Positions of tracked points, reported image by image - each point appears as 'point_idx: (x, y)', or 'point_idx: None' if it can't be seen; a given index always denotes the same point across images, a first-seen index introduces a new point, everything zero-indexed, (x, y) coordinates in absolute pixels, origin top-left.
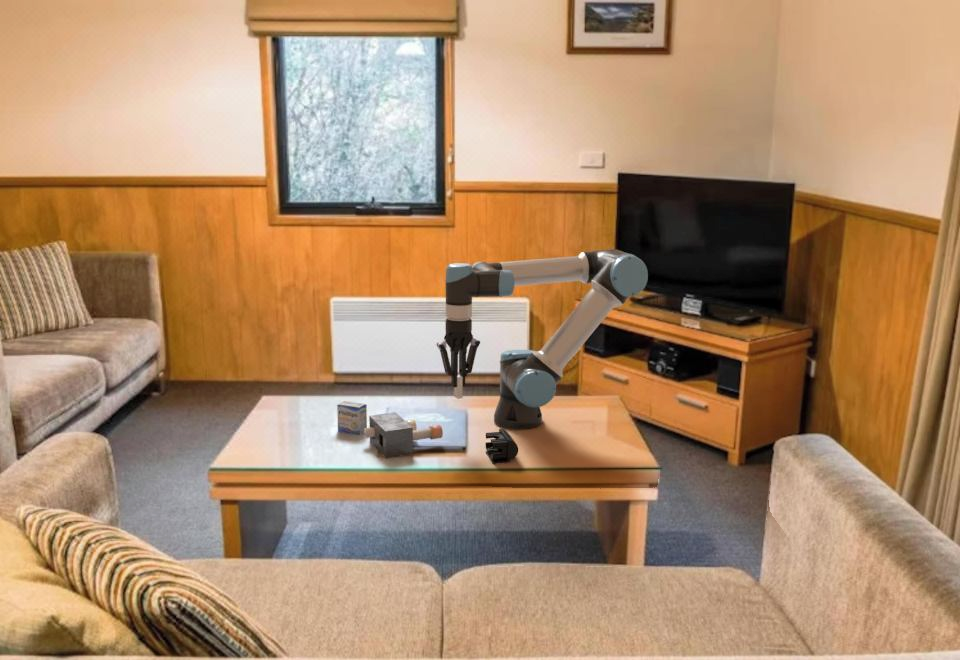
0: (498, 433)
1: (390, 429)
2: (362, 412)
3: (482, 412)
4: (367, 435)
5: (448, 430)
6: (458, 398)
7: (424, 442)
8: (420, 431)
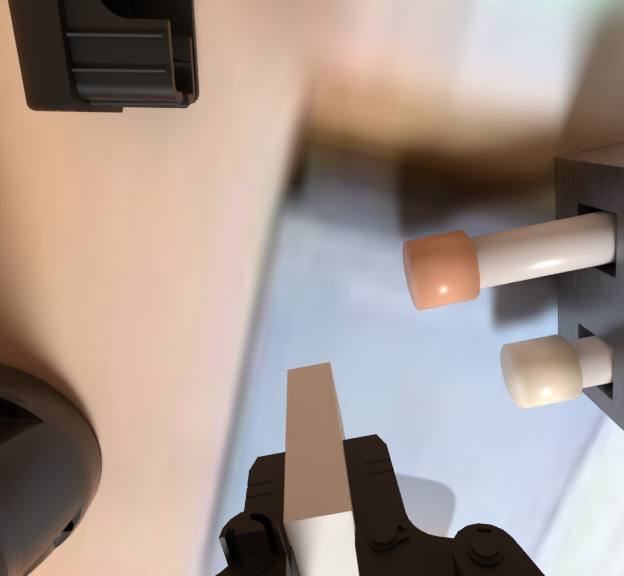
0: (89, 52)
1: None
2: None
3: (138, 570)
4: None
5: None
6: (323, 363)
7: None
8: (539, 244)
